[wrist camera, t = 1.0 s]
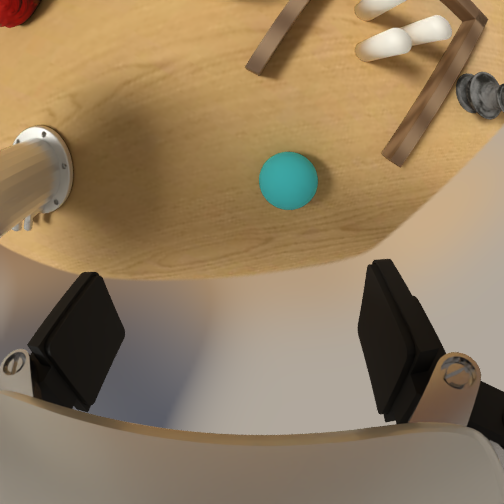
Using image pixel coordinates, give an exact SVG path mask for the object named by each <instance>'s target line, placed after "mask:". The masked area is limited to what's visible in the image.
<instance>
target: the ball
mask: <svg viewBox="0 0 504 504" xmlns="http://www.w3.org/2000/svg"><path fill="white" fill-rule="evenodd" d="M259 185H260V189H261V192H262V194H263V196H264V197H265V199H266V200H267V201H268V202H269V203H270V204H272V205H273V206H275V207H277V208H280V209H284V210H294V209H298V208H301V207H303V206H304V205H306V204H307V203H308V202H309V201H310V200H311V199H312V198H313V196H314V195H315V193H316V190H317V185H318V177H317V173H316V170H315V168H314V166H313V164H312V163H311V162H310V161H309V160H308V159H307V158H306V157H304V156H303V155H301V154H298V153H295V152H281V153H278V154H276V155H274V156H272V157H271V158H269V159H268V160H267V161H266V162H265V164H264V165H263V167H262V169H261V172H260V176H259Z"/></svg>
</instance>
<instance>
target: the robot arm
mask: <svg viewBox="0 0 504 504" xmlns="http://www.w3.org/2000/svg"><path fill="white" fill-rule="evenodd" d="M72 183H73V165H72V160H71V156H70V153H69V150H68V148H67V146H66V144H65V142H64V140H63V139H62V138H61V137H60V135H59V134H58V133H56V132H55V131H54V130H53V129H51V128H49V127H46V126H42V125H41V126H33V127H30V128H27V129H25V130H24V131H22V132H21V133H20V134H19V135H18V136H17V138H16V139H15V141H14V143H13V145H12V146H10V147H7V148H5V149H2V150H0V238H1V237H2V236H3V235H4V234H6V233H7V232H8V231H9V230H11V229H12V230H14V231H19V230H21V229H22V221H23V220H24V219H25V222H24V229H25V230H27V231H30V230H31V229H32V225H33V217H34V216H36V215H37V214H38V213H49V212H52V211H54V210H56V209H57V208H59V207H60V206H61V205H62V204H63V203H64V202H65V201H66V199H67V198H68V196H69V193H70V191H71V187H72ZM358 335H359V339H360V342H361V346H362V350H363V353H364V357H365V361H366V365H367V368H368V372H369V376H370V380H371V384H372V388H373V393H374V397H375V401H376V405H377V410H378V413H379V414H384V418H385V422H390V421H395V420H396V425H388V426H380V427H371V428H364V429H357V430H347V431H337V432H326V433H310V434H291V435H234V434H215V433H201V432H191V431H182V430H173V429H166V428H159V427H152V426H146V425H140V424H134V423H129V422H123V421H119V420H114V419H109V418H105V417H101V416H96V415H92V414H88V413H85V412H88V411H89V408H90V406H91V405H93V404H94V402H95V400H96V398H97V396H98V393H99V391H100V389H101V386H102V384H103V382H104V380H105V378H106V375H107V373H108V371H109V369H110V367H111V365H112V362H113V360H114V358H115V356H116V354H117V352H118V350H119V348H120V346H121V343H122V341H123V339H124V337H125V330H124V327H123V325H122V323H121V320H120V318H119V316H118V314H117V311H116V309H115V307H114V305H113V302H112V300H111V297H110V295H109V293H108V290H107V288H106V285H105V283H104V280H103V278H102V277H101V276H99V274H98V273H97V272H83V273H82V274H81V275H80V276H79V277H78V278H77V279H76V281H75V282H74V283H73V284H72V286H71V287H70V288H69V290H68V291H67V292H66V293H65V294H64V296H63V297H62V298H61V300H60V301H59V302H58V303H57V305H56V306H55V307H54V308H53V310H52V311H51V313H50V314H49V315H48V317H47V318H46V319H45V321H44V322H43V323H42V325H41V326H40V327H39V329H38V330H37V332H36V333H35V335H34V336H33V337H32V339H31V340H30V342H29V343H28V344H27V345H28V347H29V348H30V350H31V351H32V353H31V355H29V353H28V352H27V351H26V350H24V349H18V350H14V351H13V352H11V353H9V354H8V355H7V356H6V357H5V359H4V360H3V361H2V364H1V367H0V504H504V392H503V391H501V390H499V389H497V388H495V387H492V386H490V385H488V384H486V383H484V382H482V381H481V372H480V368H479V366H478V365H477V363H476V362H475V361H474V360H473V359H472V358H471V357H469V356H467V355H466V354H463V353H459V352H451V353H448V354H446V352H445V350H444V348H443V346H442V344H441V342H440V340H439V338H438V336H437V334H436V332H435V330H434V328H433V326H432V325H431V323H430V321H429V319H428V317H427V315H426V313H425V311H424V310H423V308H422V306H421V304H420V303H419V300H418V299H417V298H416V297H415V296H412V295H411V293H410V291H409V289H408V287H407V286H406V284H405V282H404V280H403V279H402V277H401V275H400V274H399V272H398V270H397V268H396V267H395V265H394V264H393V262H392V260H391V259H381V260H374V261H373V263H372V265H368V267H367V272H366V279H365V287H364V293H363V299H362V305H361V311H360V316H359V322H358ZM73 406H75V408H76V409H78V410H82V411H85V412H81V411H77V410H73V409H72V408H73Z"/></svg>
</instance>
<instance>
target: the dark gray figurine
mask: <svg viewBox="0 0 504 504" xmlns="http://www.w3.org/2000/svg"><path fill="white" fill-rule="evenodd" d="M456 95H457V98H458V101H459V103H460V105H461V106H462V107H463V108H464V109H465V110H466V111H468V112H470V113H478V114H479V115H481V116H482V117H483V118H486V119H494V118H496V117H497V116H498V115H499V113H500V112H501V111H503V112H504V84H502V85H499V84H498V82H497V81H496V79H495V78H494V77H493V76H492V75H490V74H489V73H486V72H479V73H477V74H476V75H472V74H467V73H466V74H463V75H461V76H460V77H459V79H458V81H457V84H456Z"/></svg>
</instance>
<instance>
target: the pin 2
mask: <svg viewBox="0 0 504 504" xmlns="http://www.w3.org/2000/svg"><path fill="white" fill-rule="evenodd" d="M400 29H402V30H404V31H405V32H406V33H407V34H408V35H409V36H410V38H411V42H412V46H415V45H419V44H424V43H429V42H434V41H440V40H445V39H449V38H450V37H451V35H452V29H451V26H450V24H449V22H448V21H447V20H446V19H445V18H443V17H442V16H439V15H435V16H432V17H429V18H426V19H423V20H420V21H417V22H414V23H412V24H409V25H406V26H403V27H401V28H400Z"/></svg>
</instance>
